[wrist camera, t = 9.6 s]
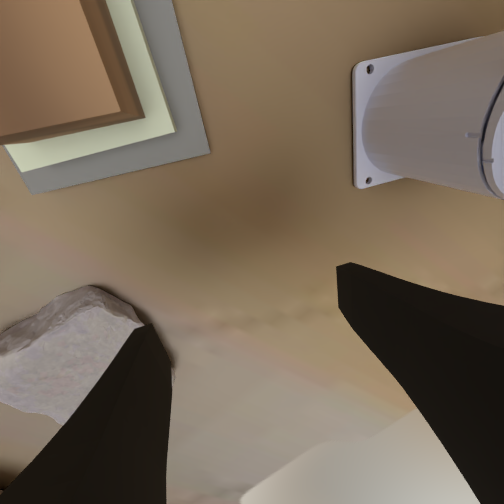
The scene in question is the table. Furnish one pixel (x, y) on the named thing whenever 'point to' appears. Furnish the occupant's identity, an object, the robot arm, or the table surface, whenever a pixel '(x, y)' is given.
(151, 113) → the sage block
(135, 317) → the stone block
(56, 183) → the grey square slab
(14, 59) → the walnut cube
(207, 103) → the table surface
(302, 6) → the table surface
